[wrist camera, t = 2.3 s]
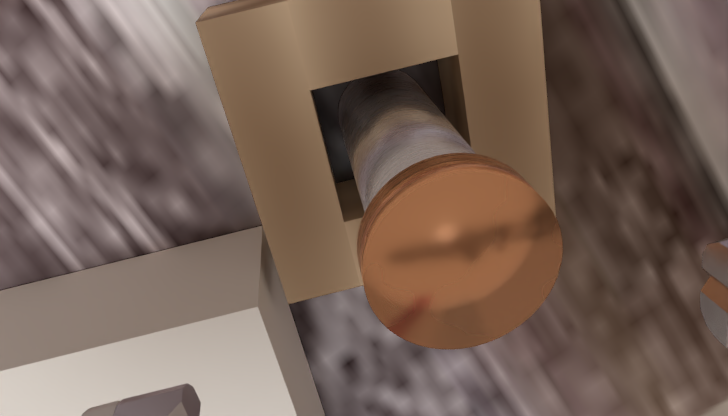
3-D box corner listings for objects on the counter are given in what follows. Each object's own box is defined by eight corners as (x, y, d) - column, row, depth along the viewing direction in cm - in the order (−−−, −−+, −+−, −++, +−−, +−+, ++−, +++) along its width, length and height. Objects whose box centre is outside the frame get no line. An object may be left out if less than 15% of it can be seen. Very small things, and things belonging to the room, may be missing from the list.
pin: (428, 43, 19) (555, 150, 10) (445, 150, 21) (568, 322, 12) (313, 71, 19) (342, 202, 10) (340, 176, 21) (385, 369, 12)
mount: (497, -63, 18) (535, -59, 15) (523, 198, 22) (557, 236, 20) (208, 7, 18) (195, 22, 15) (287, 257, 22) (288, 304, 19)
